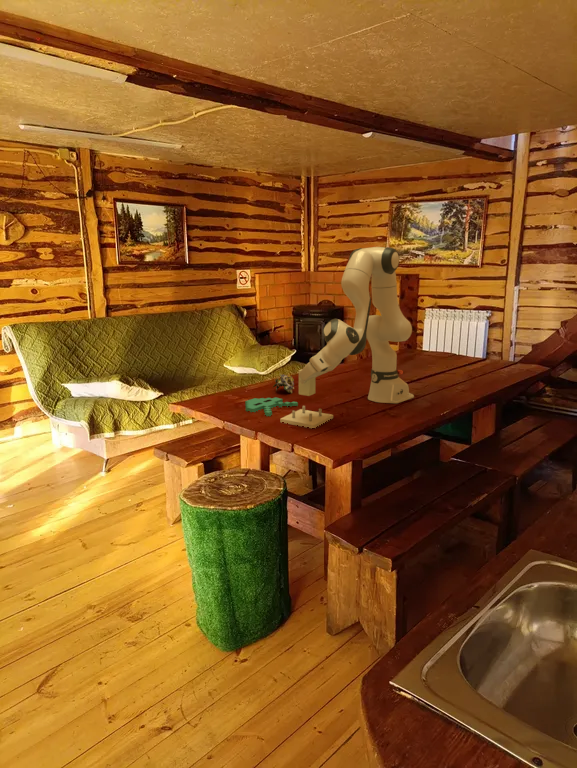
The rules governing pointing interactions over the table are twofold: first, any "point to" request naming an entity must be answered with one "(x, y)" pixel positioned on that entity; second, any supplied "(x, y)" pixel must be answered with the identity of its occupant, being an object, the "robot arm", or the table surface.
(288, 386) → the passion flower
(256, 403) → the alien figure
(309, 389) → the beige rectangular block
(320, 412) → the pin plate
